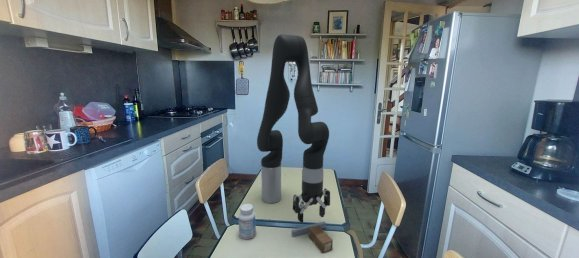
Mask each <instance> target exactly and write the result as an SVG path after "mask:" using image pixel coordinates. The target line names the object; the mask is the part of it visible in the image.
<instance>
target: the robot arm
mask: <svg viewBox="0 0 579 258" xmlns="http://www.w3.org/2000/svg"><path fill="white" fill-rule="evenodd" d="M308 52H309V51H308V46H307V42H306V40H305V38H304V37H303V36H301V35H295V34H285V33H284V34H283V33H282V34H278V35H277V36H276V38H275V39H274V43H273V47H272V55H271V56H272V57H271V68H270V75H269V80H268V81H269V82H268V87H267V92H266V97H265V103H264V108H263V114H262V119H261V123H260V126H259V130H258V132H257V137H256V146H257V149H258V151H259V152H263V153H268V154H266V155H265V156H263V157H262V158H261V160H260V163H261V164H260V169H261V170H260V171H261V200H262V202H263V203H267V204H276V203H279V202H280V201H281V200H282V160H283V147H284V145H283V144H284V138H283V135H282V132H281V131H280V130H278V129H275V130H273V128H274V126H275V125H276V124H277V122H278V121H279V120H280V119H281V118H282V117H283V116H284V114H286V111H287V109H288V106H289V101H290V98H291V93H290V89H289V85H288V83H287V81H286V78H285V67H286V63H295V65H296V68H297V75H296V76H297V78H296V82H295V84H294V89H293V98H294V99H293V100H294V102H295V107H296V110H297V133H298V134H297V135H298V137H299V140H300V141H301V142H302V143H303V144H305V145H310V146H309V147H308V148H307V149H305V150H304V151H303V153H302V170H301V194H300V195H297V194H294V195H293V198H292V210H293V211H294V213H295V214H297V219H298V221H299V222H300V223H301V224H302V223H304V212H305V211H306V210H307V209H308V207H311V206H313V205H317V204H319V211H318V216H320V218H324V216H325V215H326V208H327V207H330V206H331V191H330V190H329V189H327V188H324V155H325V151H326V149H327V145H328V142H329V139H330V130H329V126H328V125H327V124H326V123H325V122H324V121H316V122H315V121H314V122H312V117H314V116H315V115H317V114H318V112H319V107H318V104H317V99H316V97H315V94H314V90H313V84H312V77H311V66H310V60H309V59H310V58H309V53H308ZM322 197H323V200H322Z"/></svg>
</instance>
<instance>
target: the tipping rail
mask: <svg viewBox="0 0 579 258" xmlns="http://www.w3.org/2000/svg"><path fill="white" fill-rule="evenodd" d="M318 225H319V226H320V227H321V228H322V229H326V228H327V222H326V221H321V222H316V223H313V224H309V225H306V226H305V225H304V226H301V227H297V228H294V229H291V236H292V237H297V236H301V235H305V234H307V233H308V234H309V228H311V227H315V226H318Z"/></svg>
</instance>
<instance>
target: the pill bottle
mask: <svg viewBox="0 0 579 258" xmlns="http://www.w3.org/2000/svg"><path fill="white" fill-rule="evenodd" d="M256 224H257V223H256V213H255V211H254V206H253V204H251V203H245V204H242V205H241V206H240V208H239V213H238V233H239V237H240V238H241V239H244V240H249V239H253V238H254V237H255V236H256V234H257V227H256Z"/></svg>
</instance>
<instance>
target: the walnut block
mask: <svg viewBox="0 0 579 258" xmlns="http://www.w3.org/2000/svg"><path fill="white" fill-rule="evenodd" d="M323 229H324V228H323ZM323 229H322V228H321V227H320V226H319V225H318V226H315V227H311V228H309V232H308V238H309V240H311V242H312V243H313V244H314V245H315V247H316V248H317V249H318V250H319V252H320V253H321V254H324V253H327V252H329V251H330V252H331V251H333V243H334V242H333V241H334V240H333V238H331V236H329V235H328V233H327V232H325V231H324V230H323Z"/></svg>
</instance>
